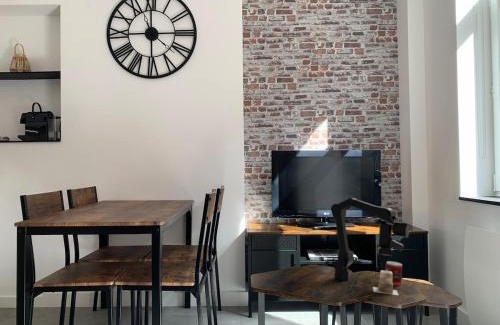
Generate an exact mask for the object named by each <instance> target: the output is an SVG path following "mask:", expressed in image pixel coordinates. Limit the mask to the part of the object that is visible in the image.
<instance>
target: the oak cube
mask: <svg viewBox="0 0 500 325" xmlns="http://www.w3.org/2000/svg"><path fill="white" fill-rule="evenodd" d="M379 274H380V276H379V280H380V282H381V283H383V284H390V285H392V277H393V274H392V272H391V271H385V270H382V269H380V273H379Z"/></svg>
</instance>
